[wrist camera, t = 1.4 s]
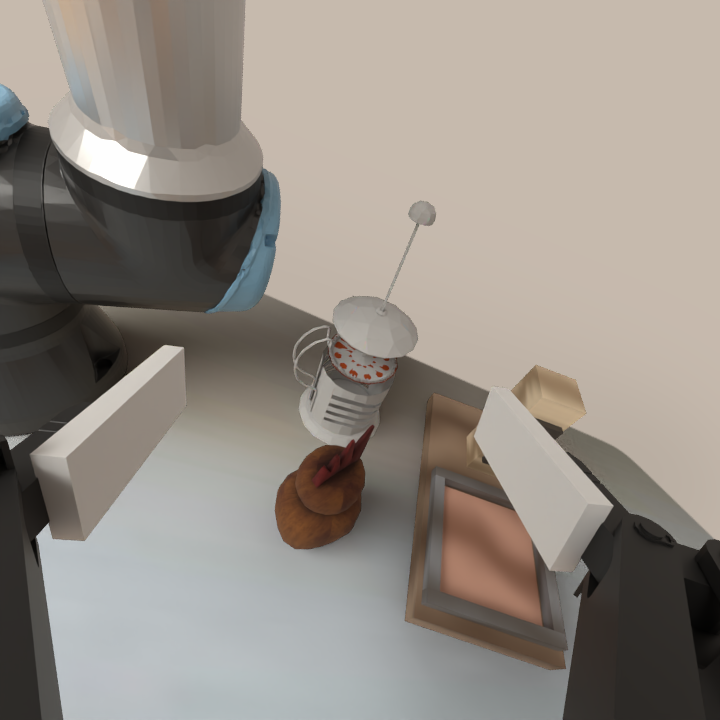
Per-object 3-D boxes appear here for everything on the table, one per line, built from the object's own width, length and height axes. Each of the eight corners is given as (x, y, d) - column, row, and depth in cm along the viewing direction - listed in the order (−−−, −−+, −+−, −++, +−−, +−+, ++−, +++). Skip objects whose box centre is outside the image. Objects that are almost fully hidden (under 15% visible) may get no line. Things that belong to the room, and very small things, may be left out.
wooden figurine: (334, 483, 35) (383, 395, 24) (352, 545, 32) (417, 472, 21) (265, 499, 32) (286, 406, 22) (276, 568, 29) (308, 497, 18)
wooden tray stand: (549, 670, 29) (732, 658, 19) (404, 620, 29) (509, 581, 18) (518, 435, 46) (604, 360, 36) (427, 401, 46) (487, 316, 35)
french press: (388, 446, 40) (519, 253, 22) (284, 449, 36) (343, 220, 18) (371, 378, 46) (462, 186, 28) (281, 375, 42) (322, 152, 25)
